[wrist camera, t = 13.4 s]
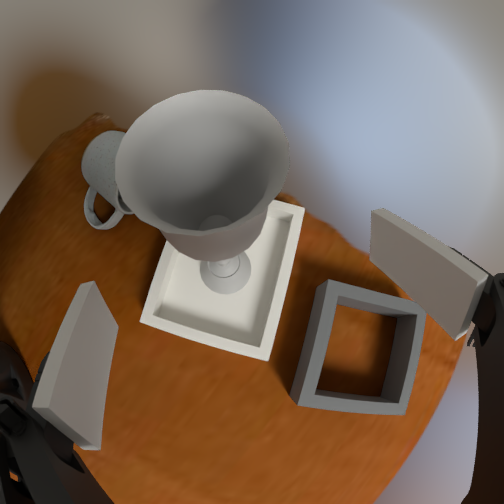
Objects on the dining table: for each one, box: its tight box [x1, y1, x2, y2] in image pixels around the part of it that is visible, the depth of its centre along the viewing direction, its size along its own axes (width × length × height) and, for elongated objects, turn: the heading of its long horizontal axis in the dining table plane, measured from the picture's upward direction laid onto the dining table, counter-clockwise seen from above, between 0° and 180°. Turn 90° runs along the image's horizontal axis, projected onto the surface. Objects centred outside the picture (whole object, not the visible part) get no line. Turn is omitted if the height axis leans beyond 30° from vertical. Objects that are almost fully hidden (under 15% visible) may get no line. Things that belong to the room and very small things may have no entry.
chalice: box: [115, 90, 290, 294], centre depth 18 cm, size 7×7×18 cm
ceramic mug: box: [81, 131, 134, 229], centre depth 26 cm, size 11×8×8 cm
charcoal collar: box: [289, 279, 426, 415], centre depth 24 cm, size 11×11×4 cm
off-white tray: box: [140, 200, 305, 361], centre depth 26 cm, size 12×15×3 cm
